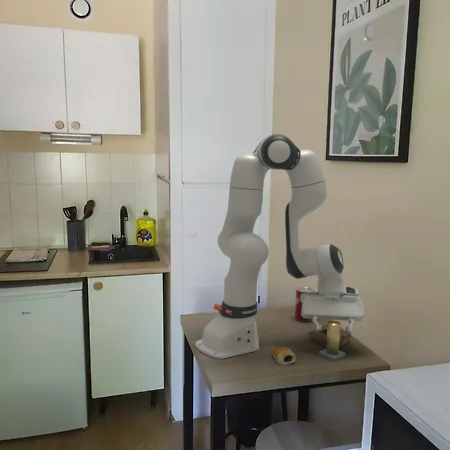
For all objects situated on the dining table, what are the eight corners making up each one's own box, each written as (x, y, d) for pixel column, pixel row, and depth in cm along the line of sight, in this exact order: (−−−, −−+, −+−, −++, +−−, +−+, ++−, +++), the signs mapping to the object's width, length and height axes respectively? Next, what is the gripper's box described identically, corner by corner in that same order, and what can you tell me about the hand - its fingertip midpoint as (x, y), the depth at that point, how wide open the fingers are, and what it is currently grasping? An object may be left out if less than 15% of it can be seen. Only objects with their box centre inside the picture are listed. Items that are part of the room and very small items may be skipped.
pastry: (266, 353, 144) (267, 342, 144) (285, 351, 146) (286, 340, 146) (278, 366, 135) (279, 354, 135) (298, 364, 138) (299, 352, 137)
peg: (333, 356, 141) (335, 326, 139) (323, 351, 144) (325, 322, 142) (341, 352, 143) (343, 323, 142) (330, 348, 146) (332, 319, 145)
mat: (334, 361, 139) (334, 358, 139) (318, 354, 144) (319, 351, 144) (345, 356, 143) (345, 353, 143) (329, 349, 148) (330, 346, 148)
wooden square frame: (333, 349, 148) (333, 340, 148) (309, 339, 155) (309, 331, 155) (350, 341, 154) (350, 333, 154) (326, 332, 162) (327, 324, 161)
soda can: (291, 319, 173) (293, 290, 172) (297, 314, 180) (299, 285, 178) (309, 323, 170) (311, 293, 168) (315, 317, 177) (317, 288, 175)
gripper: (301, 286, 148) (302, 325, 140) (363, 289, 146) (368, 329, 138) (299, 295, 153) (300, 333, 145) (359, 298, 152) (363, 337, 143)
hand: (333, 331), depth 142 cm, fingers open, 8 cm apart
